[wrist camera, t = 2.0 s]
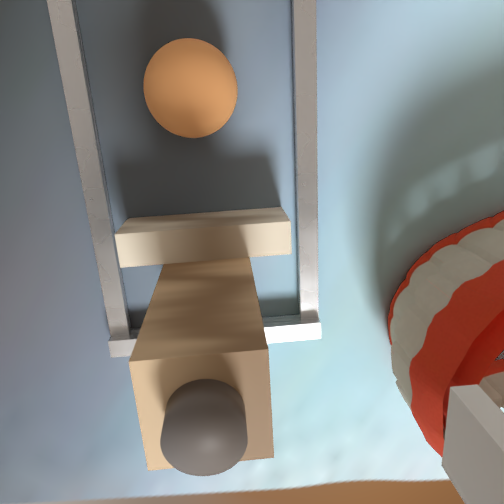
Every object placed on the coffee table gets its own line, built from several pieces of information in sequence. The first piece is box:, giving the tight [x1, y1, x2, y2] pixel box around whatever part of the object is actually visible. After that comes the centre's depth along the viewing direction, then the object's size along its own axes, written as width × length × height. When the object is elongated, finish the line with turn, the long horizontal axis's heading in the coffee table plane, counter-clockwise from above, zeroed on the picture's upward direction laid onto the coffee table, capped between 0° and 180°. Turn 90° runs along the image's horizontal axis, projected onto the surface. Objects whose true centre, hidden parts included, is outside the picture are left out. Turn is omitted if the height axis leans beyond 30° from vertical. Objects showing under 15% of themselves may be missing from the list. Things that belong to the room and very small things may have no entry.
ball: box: [144, 38, 237, 138], centre depth 18 cm, size 4×4×4 cm
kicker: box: [115, 207, 292, 476], centre depth 17 cm, size 8×6×12 cm
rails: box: [47, 0, 321, 358], centre depth 21 cm, size 12×20×1 cm, turn 3°
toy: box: [388, 211, 504, 457], centre depth 21 cm, size 12×10×8 cm
